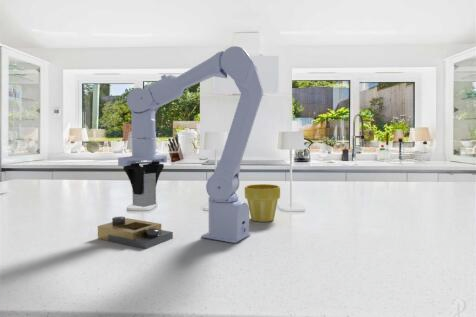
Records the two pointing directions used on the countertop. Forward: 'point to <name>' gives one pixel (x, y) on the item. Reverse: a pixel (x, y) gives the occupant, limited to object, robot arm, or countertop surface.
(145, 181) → the grey metal block
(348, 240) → the countertop surface
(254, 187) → the plant pot
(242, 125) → the robot arm
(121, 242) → the brass plate with knob
